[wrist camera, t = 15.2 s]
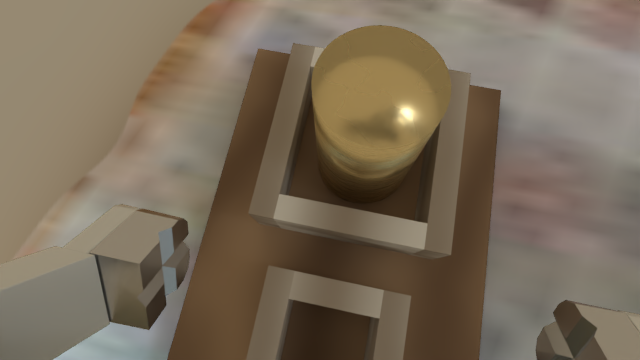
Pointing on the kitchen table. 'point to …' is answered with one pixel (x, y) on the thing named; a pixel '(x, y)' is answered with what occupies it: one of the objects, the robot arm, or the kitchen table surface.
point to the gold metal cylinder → (375, 109)
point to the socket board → (341, 238)
